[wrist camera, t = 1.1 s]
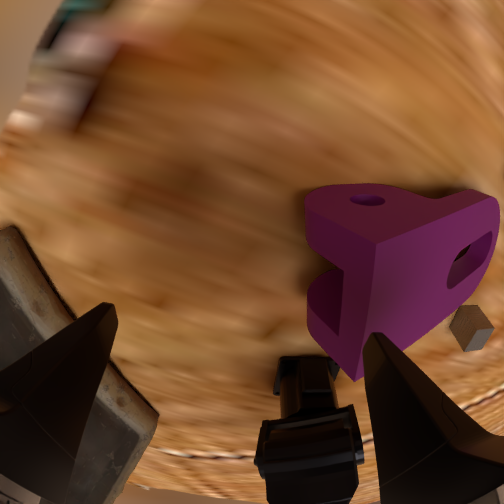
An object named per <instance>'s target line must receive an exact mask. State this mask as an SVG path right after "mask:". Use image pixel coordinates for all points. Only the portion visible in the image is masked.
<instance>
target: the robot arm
mask: <svg viewBox="0 0 504 504" xmlns="http://www.w3.org/2000/svg"><path fill="white" fill-rule="evenodd" d="M117 328H118V318H117V314H116V309H115V306H114V304H112V303H107V302H102V303H101V304H99V305H97V306H96V307H94V308H93V309H91V310H90V311H88V312H87V313H85V314H84V315H82V316H81V317H79V318H78V319H76V320H75V321H73V322H72V323H70V324H69V325H68V326H66V327H65V328H63V329H62V330H60V331H59V332H57V333H56V334H54V335H53V336H51V337H50V338H49V339H47V340H46V341H44V342H43V343H41V344H40V345H38V346H37V347H36V348H34V349H33V350H32V351H30V352H28V353H27V354H26V355H24V356H23V357H21V358H20V359H18V360H17V361H15V362H14V363H12V364H11V365H9V366H7V367H6V368H4V369H2V370H1V371H0V504H39V502H40V498H43V499H45V500H47V501H50V502H52V503H54V504H65V500H66V496H67V491H68V487H69V483H70V479H71V475H72V471H73V468H74V464H75V460H76V456H77V453H78V449H79V446H80V443H81V439H82V436H83V433H84V430H85V426H86V423H87V420H88V417H89V414H90V411H91V408H92V405H93V402H94V399H95V397H96V394H97V391H98V388H99V385H100V383H101V380H102V377H103V375H104V372H105V369H106V367H107V364H108V361H109V357H110V353H111V350H112V346H113V342H114V339H115V335H116V331H117ZM362 356H363V367H364V380H365V390H366V396H367V402H368V407H369V413H370V419H371V426H372V432H373V439H374V446H375V453H376V461H377V469H378V478H379V487H380V488H379V490H380V501H381V504H504V436H498V435H494V434H492V433H490V432H488V431H486V430H485V429H484V428H483V427H481V426H480V425H479V424H478V423H477V422H476V421H474V420H473V419H472V418H471V417H470V416H469V415H467V414H466V413H465V412H464V411H463V410H462V409H461V408H459V407H458V406H457V405H456V404H455V403H454V402H453V401H452V400H451V399H450V398H449V397H448V396H447V395H446V394H445V393H444V392H442V390H441V389H440V388H439V387H438V386H437V385H436V384H435V383H434V382H433V381H432V380H431V379H430V378H429V377H428V376H427V375H426V374H425V373H424V372H423V371H422V370H421V369H420V368H419V367H418V366H417V365H416V364H415V363H414V362H413V361H412V360H411V359H410V358H409V357H407V356H406V355H405V354H404V353H403V352H402V351H401V350H400V349H399V348H398V347H397V346H396V345H395V344H394V343H393V342H392V341H391V340H390V339H389V338H388V337H387V336H386V335H385V334H383V333H382V332H372V333H371V334H370V335H369V337H368V339H367V341H366V343H365V345H364V347H363V350H362ZM283 361H285V362H283ZM339 369H340V366H339V365H338V364H337V363H336V362H335V361H334V360H333V359H332V358H311V357H282V358H280V360H279V364H278V369H277V374H276V379H275V384H274V388H273V394H274V395H276V396H280V406H281V419H276V420H263V421H262V427H261V428H260V433H259V438H258V444H257V450H256V455H255V458H254V465H256V466H257V467H258V470H259V473H260V476H261V477H262V479H265V481H266V496H267V501H268V503H269V504H349V502H350V501H351V499H352V497H353V495H354V493H355V491H356V489H357V487H358V484H359V479H358V471H357V465H361V464H364V451H363V444H362V439H361V434H360V429H359V425H358V421H357V417H356V413H355V410H354V406H353V404H351V405H348V406H346V407H342V408H339V407H338V401H337V396H336V390H335V385H334V381H335V379H336V376H337V374H338V372H339Z"/></svg>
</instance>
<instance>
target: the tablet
mask: <svg viewBox="0 0 504 504" xmlns="http://www.w3.org/2000/svg"><path fill="white" fill-rule="evenodd" d="M72 322H73V319H72V318H71V317H70V315H69V314H68V312H67V311H66V310H65V308H64V307H63V305H62V304H61V302H60V300H59V299H58V297H57V296H56V295H55V293H54V292H53V290H52V289H51V287H50V286H49V284H48V283H47V281H46V280H45V278H44V276H43V275H42V273H41V272H40V270H39V269H38V267H37V265H36V264H35V262H34V260H33V259H32V257H31V255H30V253H29V251H28V249H27V247H26V245H25V243H24V241H23V240H22V238H21V236H20V234H19V233H18V231H17V230H16V229H15V228H13V227H11V226H9V227H8V228H6V229H4V230H1V231H0V371H1V370H2V369H4V368H6V367H7V366H9V365H11V364H12V363H14V362H15V361H17V360H18V359H20V358H21V357H23V356H24V355H26V354H27V353H28V352H30V351H32V350H33V349H34V348H36V347H37V346H38V345H40V344H41V343H43V342H44V341H46V340H47V339H49V338H50V337H51V336H53V335H54V334H56V333H57V332H59V331H60V330H62V329H63V328H65V327H66V326H68V325H69V324H70V323H72ZM158 417H159V415H158V414H157V413H156V412H155V411H154V410H153V409H152V408H150V407H149V406H148V405H147V404H146V403H145V402H144V401H143V400H142V399H141V398H140V397H139V396H138V395H137V394H136V392H135V391H134V390H133V389H132V388H131V387H130V386H129V385H128V384H127V383H126V382H125V381H124V380H123V379H122V378H121V377H120V375H119V374H118V373H117V372H116V371H115V370H114V369H113V368H112V367H111V366H110V364H109V363H108V364H107V367H106V369H105V372H104V375H103V377H102V380H101V383H100V385H99V388H98V391H97V394H96V397H95V399H94V402H93V405H92V408H91V411H90V414H89V417H88V420H87V423H86V426H85V430H84V433H83V436H82V439H81V443H80V446H79V449H78V453H77V456H76V460H75V464H74V468H73V471H72V475H71V479H70V483H69V487H68V491H67V496H66V500H65V504H113V502H114V501H115V499H116V498H117V497H118V496H119V495H120V494H121V493H122V491H123V488H124V485H125V483H126V481H127V480H128V478H129V476H130V474H131V473H132V472H133V470H134V469H135V467H136V465H137V464H138V462H139V460H140V459H141V457H142V455H143V453H144V451H145V449H146V448H147V446H148V445H149V443H150V441H151V439H152V437H153V435H154V433H155V430H156V427H157V421H158ZM39 504H54V503H52V502H50V501H47V500H45V499H43V498H40V502H39Z"/></svg>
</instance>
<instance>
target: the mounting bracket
mask: <svg viewBox="0 0 504 504" xmlns="http://www.w3.org/2000/svg"><path fill="white" fill-rule="evenodd" d="M304 205H305V229H306V241H307V243H308V245H309V246H310V247H311V248H312V249H313V250H314V251H315V252H317V253H318V254H320V255H321V256H323V257H324V258H325V259H327V260H328V261H330V262H331V263H333V264H334V265H336V266H337V267H338V268H340V269H334V270H331V271H328V272H326V273H324V274H322V275H320V276H319V277H317V278H316V279H315V280H314V281H313V282H312V283H311V285H310V286H309V289H308V292H307V327H308V330H309V332H310V334H311V336H312V337H313V338H314V340H315V341H316V342H317V343H318V344H319V345H320V346H321V347H322V348H323V349H324V351H325V352H326V353H327V354H328V355H329V356H330V357H331V358H332V359H333V360H334V361H335V362H336V363H337V364H338V365H339V366H340V368H341V369H342V370H343V371H344V372H345V373H346V374H347V375H348V376H349V377H350V378H351V379H352V380H353V381H354V382H355V381H357V380H359V379H360V378H362V377H363V376H364V367H363V356H362V350H363V347H364V345H365V343H366V341H367V339H368V337H369V335H370V334H371V333H372V332H382V333H383V334H385V335H386V336H387V337H388V338H389V339H390V340H391V341H392V342H393V343H394V344H395V345H396V346H397V347H398V348H399V349H400V350H401V351H403V350H404V349H406V348H407V347H409V346H410V345H411V344H413V343H414V342H416V341H417V340H418V339H420V338H421V337H422V336H424V335H425V334H426V333H428V332H429V331H430V330H431V329H433V328H434V327H435V326H436V325H438V324H439V323H440V322H441V321H443V320H444V319H445V318H446V317H448V316H449V315H450V314H451V313H452V312H454V311H455V310H456V309H457V308H458V307H459V306H460V305H462V304H463V303H464V302H465V301H466V300H467V299H468V298H469V297H470V296H471V294H472V293H473V292H474V291H475V289H476V288H477V286H478V285H479V283H480V281H481V279H482V278H483V276H484V274H485V272H486V270H487V268H488V265H489V263H490V260H491V258H492V255H493V252H494V249H495V245H496V241H497V237H498V232H499V224H500V209H499V204H498V201H497V200H496V198H494V197H492V196H489V195H487V194H484V193H481V192H479V191H476V190H473V189H468V190H465V191H462V192H458V193H455V194H452V195H449V196H446V197H443V198H440V199H431V198H426V197H423V196H421V195H418V194H415V193H412V192H409V191H406V190H403V189H400V188H396V187H392V186H387V185H380V184H371V183H364V184H340V185H330V186H325V187H322V188H318V189H316V190H314V191H312V192H310V193H309V194H308V195H307V196H306V197H305V199H304ZM470 244H471V245H470ZM468 245H470V248H469V249H468V251H467V253H466V254H465V255H464V256H462V257H461V258H459V259H458V260H456V261H455V262H454V263H453V261H454V260H455V258H456V256H457V255H458V253H459V252H460V251H461V250H462V249H464V248H465V247H467V246H468Z"/></svg>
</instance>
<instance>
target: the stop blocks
mask: <svg viewBox="0 0 504 504" xmlns="http://www.w3.org/2000/svg"><path fill="white" fill-rule="evenodd" d="M449 328H450V330H451V331H452V333H453V335H454V336H455V338H456V340H457V341H458V343H459V345H460V346H461V348H462V350H463V351H464V352H468V351H474V350H481V349H482V348H483V346H484V345H485V343H486V342H487V340H488V338H489V337H490V335H491V333H492V332H493V330H494V327H493V325H492V324H491V322H490V321H489V320H488V318H487V317H486V316H485V314H484V313H483V312H482V311H481V309H480V308H479V307H478V305H473V306H460V307H459V309H458V311H457V313H456V315H455V317H454V319H453V321H452V323H451V325H450V326H449Z"/></svg>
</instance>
